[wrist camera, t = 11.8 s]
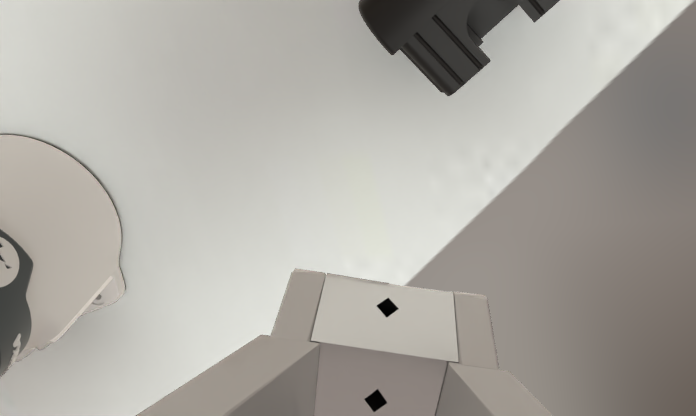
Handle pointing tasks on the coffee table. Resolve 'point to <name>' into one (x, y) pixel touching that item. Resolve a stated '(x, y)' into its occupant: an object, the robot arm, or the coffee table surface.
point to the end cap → (442, 33)
